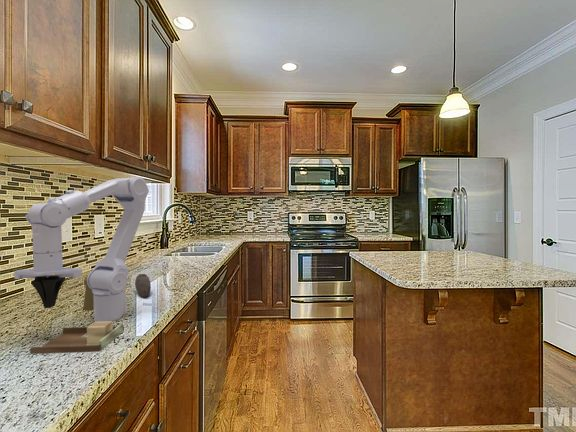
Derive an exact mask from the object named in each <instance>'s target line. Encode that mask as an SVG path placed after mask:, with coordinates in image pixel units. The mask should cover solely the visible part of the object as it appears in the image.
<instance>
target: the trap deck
mask: <svg viewBox="0 0 576 432" xmlns="http://www.w3.org/2000/svg"><path fill="white" fill-rule="evenodd" d="M87 327H88V326H82V327H78V326H77V327H63V328H62V333H61V334H59V335H58V336H56V337H55V338H53V339H52V340H50V341H48V342H46V343H44V345H42V346H31V347H30V348H29V354H30V355H33V354H35V355H36V354H62V353H63V354H64V353H92V352H93V353H95V352H101V351H102V350H104V349H105V348H106V347H107V346H109V344H111V343H112V342H113V341H114V340H115V339H116V338H118V336H119V335H121V334H122V333H123V332H124V331H125V325H123V323H120V324H119V325H115V326H114V325H113V330H112V331H111V332H110V333H108V334H107V335H106V336H105V337H103V338H102V339H101V340H100V341H98V342H99V344H87V336H84V335H87Z"/></svg>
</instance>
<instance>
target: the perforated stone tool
mask: <svg viewBox="0 0 576 432" xmlns="http://www.w3.org/2000/svg"><path fill="white" fill-rule="evenodd" d="M134 285H135V286H134V287H135V289H136V292H137V294H139V296H141V297H142V298H143V297H148V296H149V295H150V293H151V289H152V284H151V281H150V277H149V276H148V275H147V274H146V273H139V274H137V276H136V277H135V281H134Z"/></svg>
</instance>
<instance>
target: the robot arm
mask: <svg viewBox="0 0 576 432" xmlns="http://www.w3.org/2000/svg"><path fill="white" fill-rule="evenodd" d="M149 191H150V190H149V188H148V185H147V182H146V180H145V179H144V178H143V177H142V176H135V177H123V178H122V177H116V178H113V179H108V180H107V181H104V182H103V183H101V184H97V185H96V186H94V187H92V188H90V189H87V190H86V191H83V192H82V191H81V190H80V191H79V190H74V189H69V190H67V191H65V194H62V195H60V196H57V197H50V198H48V199H47V202H46V203H45V202H43V203H42V202H41V203H35V204H33V205H32V206H31V207H30V208H29V209H28V212H27V214H25V220H26V221H27V223H28V224H30V226H31V232H32V234H31V235H32V253H33V255H32V258H33V268H29V269H27V268H26V269H17V270H15V271H13V273H14V274H13V277H14V278H13V279H14V280H20V279H34V280H32V281H31V282H30V283H31V285H32V287H33V288H34V289H35V291H36V292H37V293H38V295H39V297H40V299H41V302H42V305H43V308H44V309H51V308H53V307H55V306H56V302H57V298H58V295H59V293H60V289H61V287H62V286H63V284H64V282H65V280H66V278H73V279H77V278H79V277H82V276H83V273H82V268H81V267H75V268H73V267H64V266H63V265H64V264H63V241H62V240H63V238H62V237H63V236H62V234H63V231H62V226H63V225H64V224H65V223H66V221H67V219H70V218H72V217H74V216H77V215H78V214H81V213H82V212H84V211H87V210H88V209H89V208H90V204H91V203H94V202H96V201H99V200H101V199H104V198H106V197H109V196H113V198H114V199H115V200H116V202H117V203H118V204H119V205H120V206H121V207H122V208H123V213H122V215H121V217H120V220H119V222H118V225H117V227H116V230H115V233H114V234H113V236H112V239H111V242H110V244H109V245H108V246H109V247H108V249H107V252H106V254H105V256H104V258H102V259H101V260H100V261H98V262H97V263H96V264H95V266H94V267H93V270H91V271H90V272H89V273H88V275H87V276H88V277H87V284H88V286H89V288H91V289H92V293H93V298H94V310H93V321H95V322H101V321H117V320H119V319H121V318H122V317H123V315H124V314H128V312H127V311H128V307H127V305H128V304H127V303H128V301H127V299H128V298H127V293H126V292H125V291H124V289H125V288H126V286H127V285H128V274H129V272H130V269H129V267H128V265H127V264H126V260H127V257H128V254H129V252H130V250H131V247H132V244H133V241H134V239H135V237H136V234H137V231H138V228H139V227H140V223H141V221H142V218H143V215H144V213H145V209H146V208H145V207H146V199H147V197H148V194H149Z"/></svg>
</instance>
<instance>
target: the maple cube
mask: <svg viewBox="0 0 576 432" xmlns="http://www.w3.org/2000/svg"><path fill="white" fill-rule="evenodd" d="M113 323H114V322H113V321H101V322H96V321H95V322H93V323H92V324H90V325H89V326H86V327H87V333H86V337H87V344H99V342H98V341H100V340H101V339H102V338H103V337H105V336H106V335H107V334H108V333H110V332H111V331H112V330H113V326H114V325H113Z"/></svg>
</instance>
